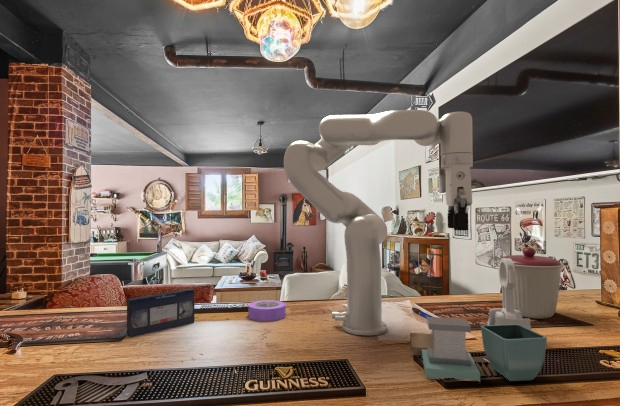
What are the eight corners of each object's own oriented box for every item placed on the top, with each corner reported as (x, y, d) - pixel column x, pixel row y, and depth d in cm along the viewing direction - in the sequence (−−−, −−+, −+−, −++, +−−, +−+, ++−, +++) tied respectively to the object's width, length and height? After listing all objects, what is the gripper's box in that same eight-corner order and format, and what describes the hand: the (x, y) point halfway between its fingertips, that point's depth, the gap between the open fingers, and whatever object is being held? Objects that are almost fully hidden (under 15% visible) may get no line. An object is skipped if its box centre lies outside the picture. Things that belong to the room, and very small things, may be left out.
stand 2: (426, 378, 74) (425, 368, 74) (421, 358, 83) (421, 349, 83) (480, 382, 72) (480, 372, 72) (469, 361, 81) (469, 352, 81)
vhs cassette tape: (129, 338, 98) (129, 300, 98) (125, 335, 100) (125, 298, 100) (195, 323, 110) (195, 289, 110) (191, 321, 112) (191, 288, 112)
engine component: (493, 344, 92) (538, 346, 90) (492, 261, 92) (537, 262, 90) (482, 329, 102) (522, 332, 100) (481, 255, 103) (521, 256, 101)
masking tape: (266, 309, 126) (266, 297, 126) (293, 315, 119) (293, 302, 119) (240, 317, 116) (240, 305, 116) (268, 324, 109) (268, 311, 109)
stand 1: (412, 355, 85) (412, 347, 85) (410, 340, 95) (410, 332, 95) (458, 359, 83) (458, 350, 83) (451, 343, 92) (451, 335, 93)
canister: (489, 305, 127) (488, 244, 127) (546, 307, 125) (545, 244, 125) (510, 322, 109) (509, 250, 109) (577, 324, 107) (576, 251, 107)
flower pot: (479, 367, 79) (479, 324, 79) (519, 365, 79) (518, 323, 79) (504, 387, 70) (504, 339, 70) (549, 385, 71) (548, 337, 71)
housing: (466, 356, 79) (465, 318, 79) (471, 366, 74) (470, 326, 74) (427, 353, 81) (426, 316, 81) (429, 363, 76) (429, 323, 76)
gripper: (480, 156, 85) (481, 231, 85) (465, 165, 102) (466, 227, 102) (446, 158, 87) (446, 231, 87) (437, 166, 104) (437, 227, 104)
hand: (457, 229), depth 94 cm, fingers open, 9 cm apart
